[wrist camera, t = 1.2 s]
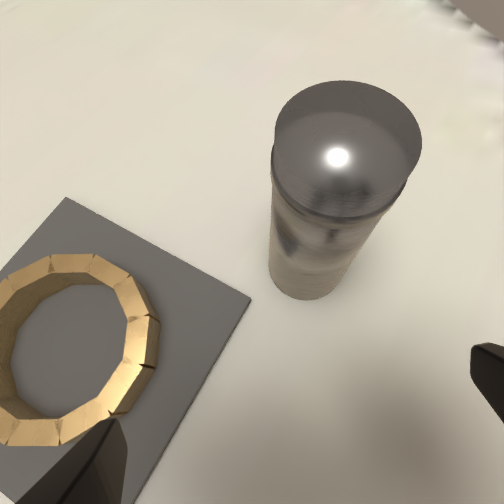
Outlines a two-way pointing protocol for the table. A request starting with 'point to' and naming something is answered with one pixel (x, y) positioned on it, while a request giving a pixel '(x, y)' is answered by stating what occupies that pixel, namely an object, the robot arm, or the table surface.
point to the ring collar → (123, 379)
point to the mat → (112, 342)
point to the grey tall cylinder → (334, 179)
